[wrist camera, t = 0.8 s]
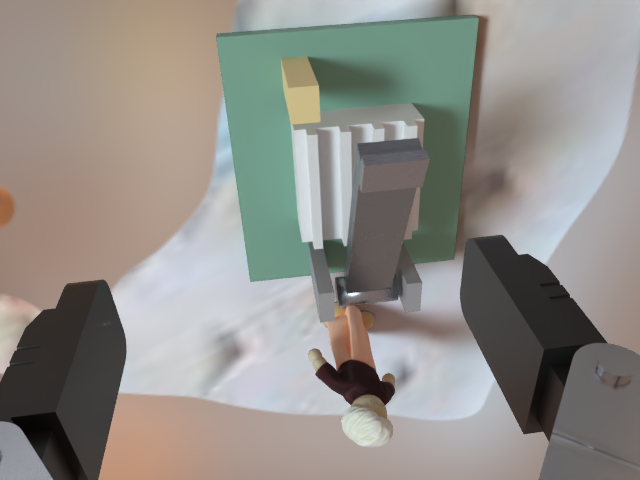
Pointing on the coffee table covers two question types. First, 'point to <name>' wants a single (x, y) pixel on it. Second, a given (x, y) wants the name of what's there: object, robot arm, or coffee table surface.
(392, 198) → the gray bar
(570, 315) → the robot arm
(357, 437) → the grandmother figurine
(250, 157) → the board
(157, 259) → the coffee table surface
